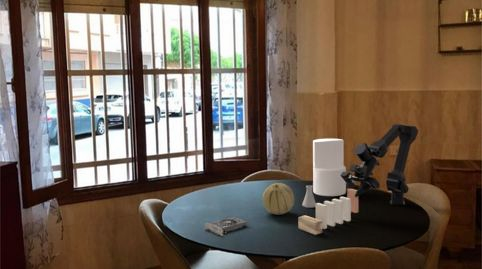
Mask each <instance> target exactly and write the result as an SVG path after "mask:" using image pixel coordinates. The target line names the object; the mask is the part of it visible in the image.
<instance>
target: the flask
mask: <svg viewBox="0 0 482 269" xmlns="http://www.w3.org/2000/svg"><path fill="white" fill-rule="evenodd" d="M305 188H306V191H305V192H306V193H305V196H304V199H303V201H302V204H301V206H302V207H304V208H307V209H309V208H311V209H312V208H316V200H315V196H314V194H313V193H314V192H313V185H306V186H305Z"/></svg>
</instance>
